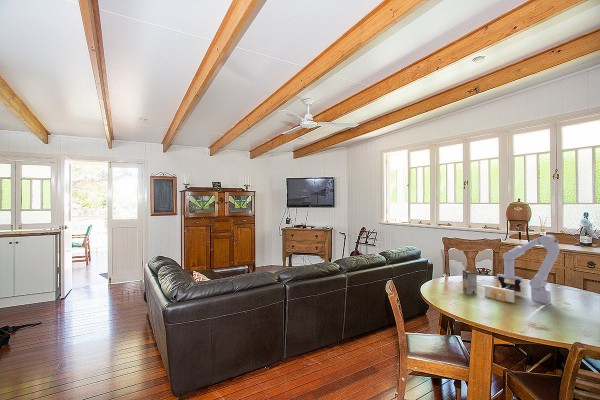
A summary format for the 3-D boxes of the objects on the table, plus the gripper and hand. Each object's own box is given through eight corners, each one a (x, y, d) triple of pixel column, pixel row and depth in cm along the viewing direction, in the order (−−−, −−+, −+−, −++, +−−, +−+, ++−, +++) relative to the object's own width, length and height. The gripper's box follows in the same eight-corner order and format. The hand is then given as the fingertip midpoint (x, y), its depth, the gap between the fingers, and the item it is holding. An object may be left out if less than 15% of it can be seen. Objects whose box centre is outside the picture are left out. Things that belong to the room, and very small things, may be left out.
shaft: (521, 291, 196) (520, 285, 196) (511, 296, 186) (511, 289, 186) (502, 287, 205) (502, 281, 205) (492, 292, 195) (491, 286, 195)
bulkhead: (514, 304, 182) (514, 290, 182) (513, 305, 181) (513, 291, 181) (486, 297, 195) (486, 285, 195) (484, 298, 194) (484, 285, 194)
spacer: (504, 303, 184) (504, 292, 184) (503, 303, 183) (503, 292, 184) (492, 300, 190) (492, 289, 190) (491, 300, 189) (491, 290, 189)
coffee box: (462, 292, 208) (462, 269, 208) (472, 292, 206) (471, 270, 206) (467, 296, 199) (466, 272, 199) (477, 296, 197) (477, 273, 197)
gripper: (494, 268, 202) (495, 288, 202) (519, 272, 190) (520, 293, 190) (498, 267, 206) (499, 286, 206) (523, 270, 195) (523, 291, 194)
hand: (509, 289), depth 198 cm, fingers open, 7 cm apart
